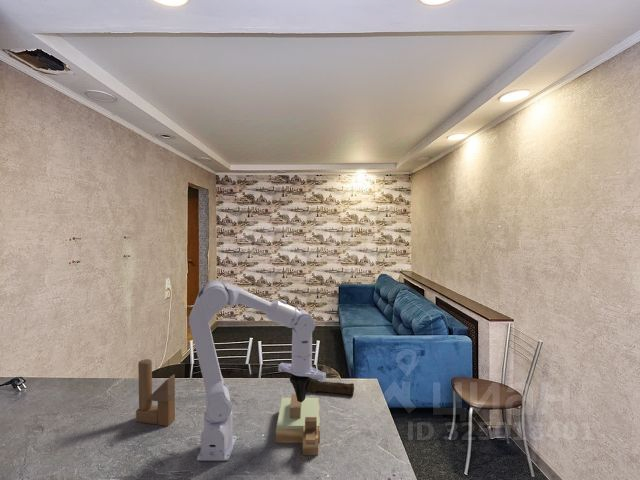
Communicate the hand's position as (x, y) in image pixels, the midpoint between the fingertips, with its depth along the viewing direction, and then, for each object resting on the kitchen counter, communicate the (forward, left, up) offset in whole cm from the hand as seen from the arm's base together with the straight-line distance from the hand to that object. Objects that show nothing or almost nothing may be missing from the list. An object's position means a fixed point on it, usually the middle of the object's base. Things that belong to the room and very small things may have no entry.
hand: (301, 400), depth 99 cm
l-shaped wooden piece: (-10, -3, -5) cm, 11 cm away
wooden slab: (+1, +1, -9) cm, 9 cm away
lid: (+3, +1, -6) cm, 7 cm away
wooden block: (+5, +44, -10) cm, 45 cm away
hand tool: (+23, -8, -10) cm, 26 cm away
